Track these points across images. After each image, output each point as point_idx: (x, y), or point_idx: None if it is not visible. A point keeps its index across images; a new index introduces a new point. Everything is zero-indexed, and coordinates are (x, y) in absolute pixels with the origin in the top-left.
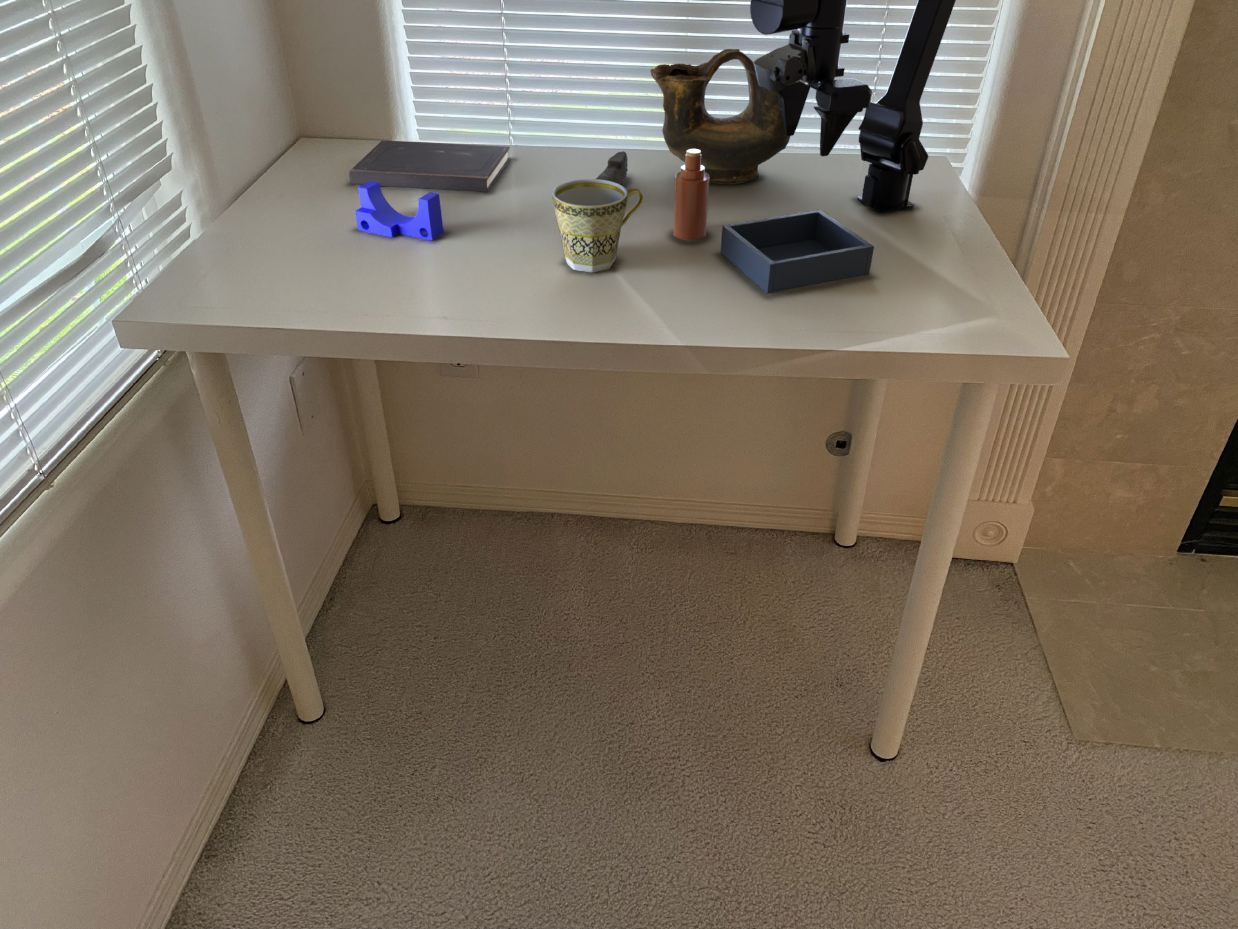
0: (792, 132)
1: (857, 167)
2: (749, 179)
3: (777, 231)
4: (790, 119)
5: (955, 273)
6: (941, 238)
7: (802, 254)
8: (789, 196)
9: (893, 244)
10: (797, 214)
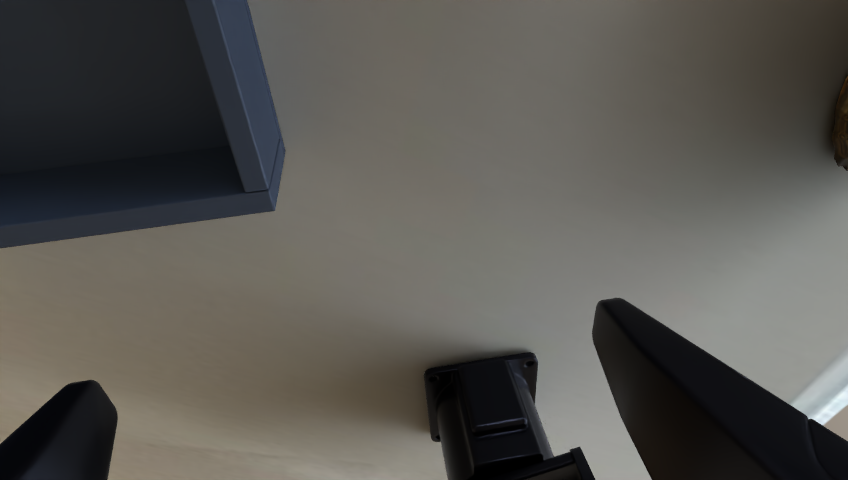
0: (602, 345)
1: None
2: (838, 123)
3: None
4: (663, 412)
5: (8, 403)
6: (244, 433)
7: (98, 33)
8: (650, 200)
9: (216, 338)
10: (227, 97)
